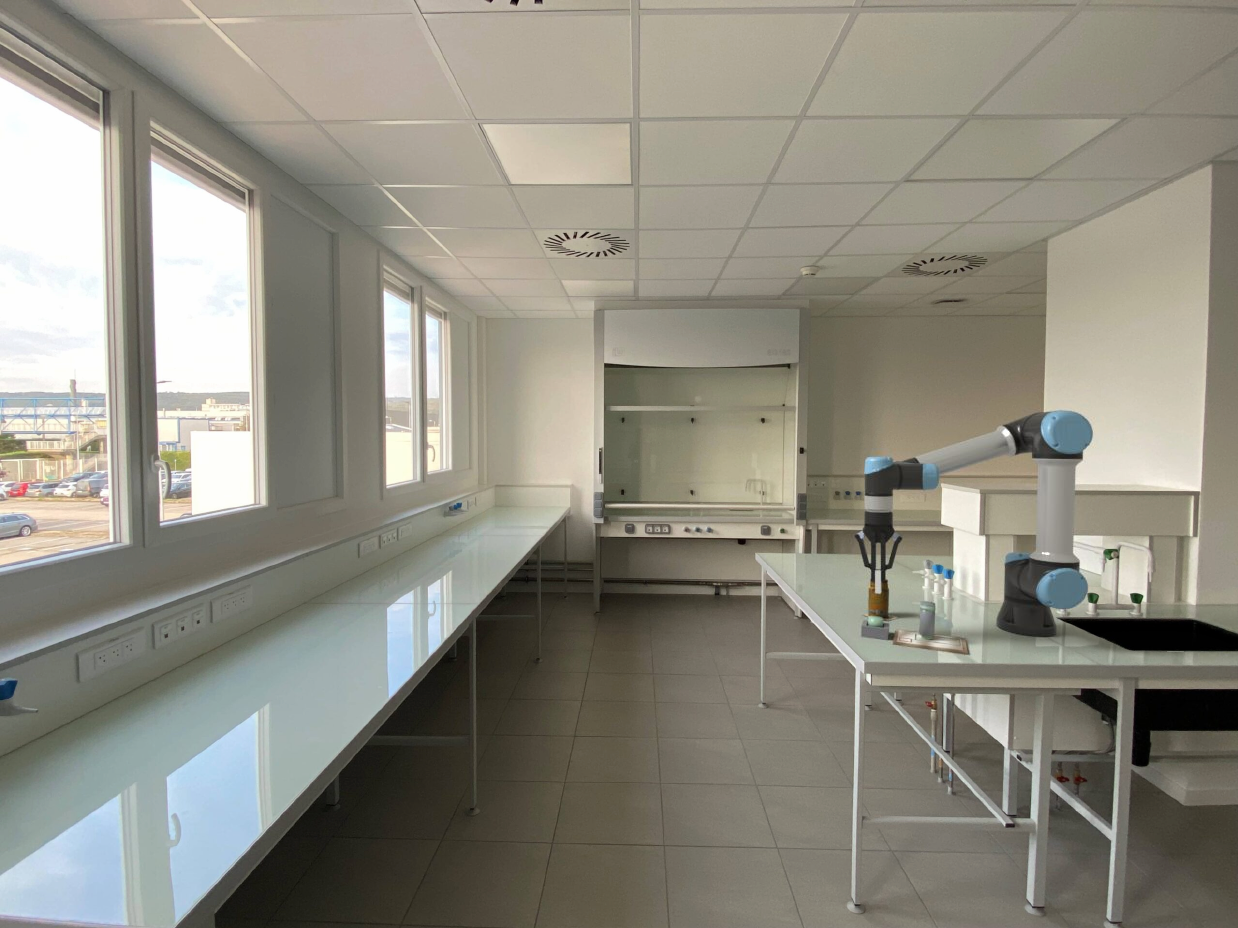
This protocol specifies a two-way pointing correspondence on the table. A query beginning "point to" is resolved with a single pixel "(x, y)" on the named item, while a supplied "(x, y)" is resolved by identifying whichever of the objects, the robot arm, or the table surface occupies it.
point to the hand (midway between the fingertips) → (878, 592)
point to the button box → (875, 631)
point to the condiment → (879, 601)
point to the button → (875, 621)
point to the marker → (927, 620)
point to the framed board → (930, 642)
